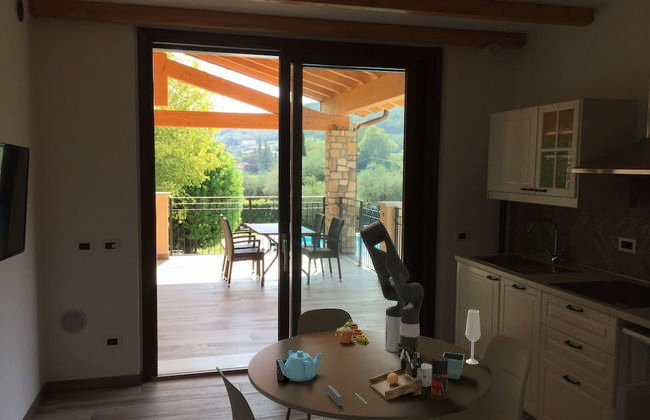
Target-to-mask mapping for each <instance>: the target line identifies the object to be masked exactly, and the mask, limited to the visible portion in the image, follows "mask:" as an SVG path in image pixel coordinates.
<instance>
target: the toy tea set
mask: <svg viewBox="0 0 650 420" xmlns="http://www.w3.org/2000/svg"><path fill="white" fill-rule="evenodd" d="M358 328H359V324H358V323H355V322H353V321H352V319H351V318H350V319H348V321H347V322H346V323H345V324H344V325H343V326H342V327H339V328H337V329H336V331H335V334H334V335H335V336H336V337H338V342H339V343H341V344H344V343H347V344H350V342H351V343H352V338H354V337H355V338H354V340H355V341H354V343H356V344H357V342H358V345H365V342H366V344H368V343H369V340H370V339H369V338H367V335H365V334H363V330H362V329H358ZM356 341H357V342H356Z"/></svg>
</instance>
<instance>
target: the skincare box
mask: <svg viewBox="0 0 650 420" xmlns="http://www.w3.org/2000/svg"><path fill="white" fill-rule="evenodd" d="M414 379H415V380H419V379H422V387H424V388H427V387H430V386H431V381H432V364H430V363H427V362H423V363H421V368H418V369H417V377H416V378H414Z"/></svg>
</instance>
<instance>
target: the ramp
mask: <svg viewBox="0 0 650 420" xmlns="http://www.w3.org/2000/svg"><path fill="white" fill-rule="evenodd" d="M390 373H395V374H397V376H398V382H397V383H396V384H394V385H392V384H390V383H389V382H388V380H387V376H388V375H389V374H390ZM368 380H369V387H370V388H371V389H372V390H374V391H375V392H376V393H377V394H378V395H379V396H381V398H383V400H385V401H390V400H392V399H395V398H399V397H402V396H403V395H407V394H409V393H410V394H412V396H419V395H422V389H423V386H422V379H419V380H415V378H412V377H411V374H410V375H409V374H408V373H407V372H406V370H401V367H400V368H397V369H394V370H390V371H388V372H384V373H381V374H379V375H375V376H371V377H370V378H368Z"/></svg>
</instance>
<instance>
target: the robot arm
mask: <svg viewBox="0 0 650 420" xmlns="http://www.w3.org/2000/svg"><path fill="white" fill-rule="evenodd" d="M359 234H360V235H359V236H360V237H361V240H362V242H363V244H364V247H365V248H366V250H367V253H368V255H369V258H370V260H371V262H372V265H373V266H372V267H373V268H374V270H375V271H374V272H375V273H376V276H377V278H378V280H379V281H378V282H379V284H380V288H381V292H382V295H383V299H385V300H387V301H392V302H396V304H395V305H393V306H392V305H391V306H389V307H386V309H385V333H384V335H385V336H384V347H385V348H384V350H386V352H390V353H397V358H398V359H399V361H400V368H401V370H405V371H406V370H407V360H408V363H409V364H410V366H411V368H410V369H411V370H410V371H411V373H410V376H411V377H412V378H414V379H415V378H416V377H417V369H418V368H421V364H422V352H417V347H419V345H420V311H421V309H422V308H421V307H422V304H423V301H424V297H425V292H424V287H423V286H422V285H421V283H418V282H410V283H407V281H408V280H409V278H410V273H409V271H408V269H407V266H406V265H405V263H403V262H404V261H402V259H401V258H400V256H399V254H398V251H397V248H396V246H395V243H394V242H393V240H392V238H391V236H390V234H389V231H388V229H387V227H386V226H385V224H384V223H383V222H382V221H381V220H376V221H374V222H372V223H370V224H368V225H366V226H364V227H362V228H361V229H360V230H359ZM383 242H384V243H385V247H386V248H385V250H386V251H385V250H383V249H380V248H378V247H376V246H377V245H380V244H381V243H383ZM390 278H391V279H392V281H391V280H390ZM406 303H408V304H407V305H406Z"/></svg>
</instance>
